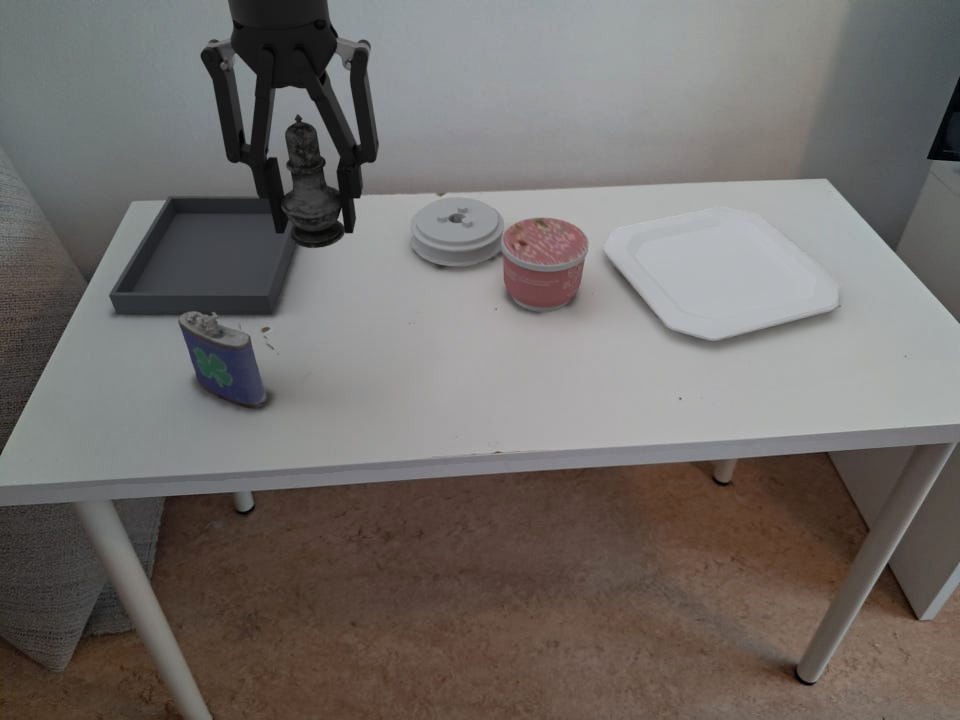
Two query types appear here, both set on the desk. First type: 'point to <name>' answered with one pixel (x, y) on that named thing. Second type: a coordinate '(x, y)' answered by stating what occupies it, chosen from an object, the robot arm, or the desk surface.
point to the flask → (223, 360)
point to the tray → (207, 259)
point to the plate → (720, 272)
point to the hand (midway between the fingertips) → (316, 225)
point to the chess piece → (310, 191)
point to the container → (543, 262)
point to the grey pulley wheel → (457, 232)
